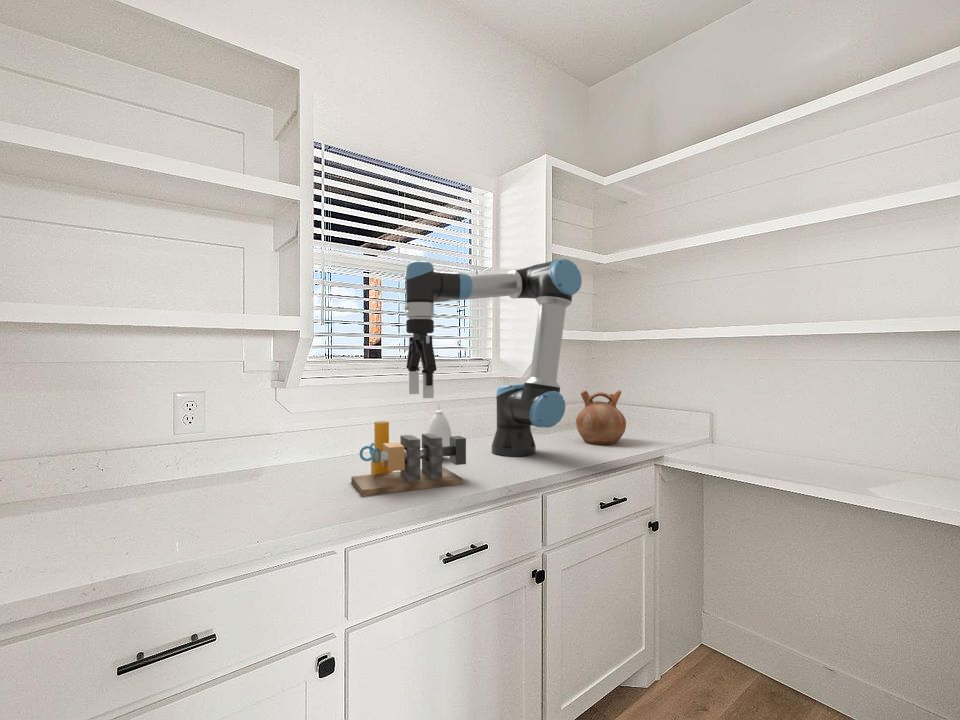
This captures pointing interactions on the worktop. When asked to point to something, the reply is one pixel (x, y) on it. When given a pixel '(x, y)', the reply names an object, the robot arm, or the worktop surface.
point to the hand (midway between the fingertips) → (420, 396)
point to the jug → (601, 420)
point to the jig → (411, 470)
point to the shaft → (454, 451)
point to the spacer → (394, 456)
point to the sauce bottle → (440, 427)
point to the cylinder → (377, 447)
